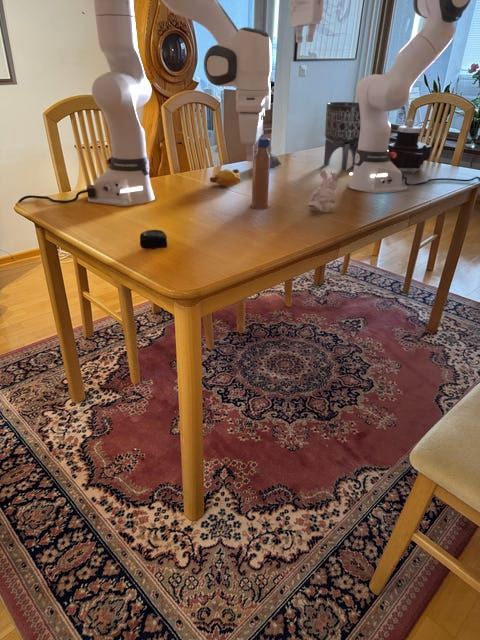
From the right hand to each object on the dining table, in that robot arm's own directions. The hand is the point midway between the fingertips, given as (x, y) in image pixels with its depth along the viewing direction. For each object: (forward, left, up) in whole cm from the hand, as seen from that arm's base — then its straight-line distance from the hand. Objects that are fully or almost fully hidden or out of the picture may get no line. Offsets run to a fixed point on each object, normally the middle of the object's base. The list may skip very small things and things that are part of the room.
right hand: (304, 42), depth 147 cm
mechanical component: (-66, -29, -48) cm, 86 cm away
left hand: (+27, +38, -28) cm, 54 cm away
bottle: (+18, +18, -48) cm, 54 cm away
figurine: (-1, +26, -48) cm, 55 cm away
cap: (+18, +18, -27) cm, 37 cm away
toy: (+22, -13, -48) cm, 55 cm away
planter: (-37, -37, -48) cm, 71 cm away
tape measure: (+55, +50, -48) cm, 89 cm away
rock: (-3, -41, -48) cm, 63 cm away
